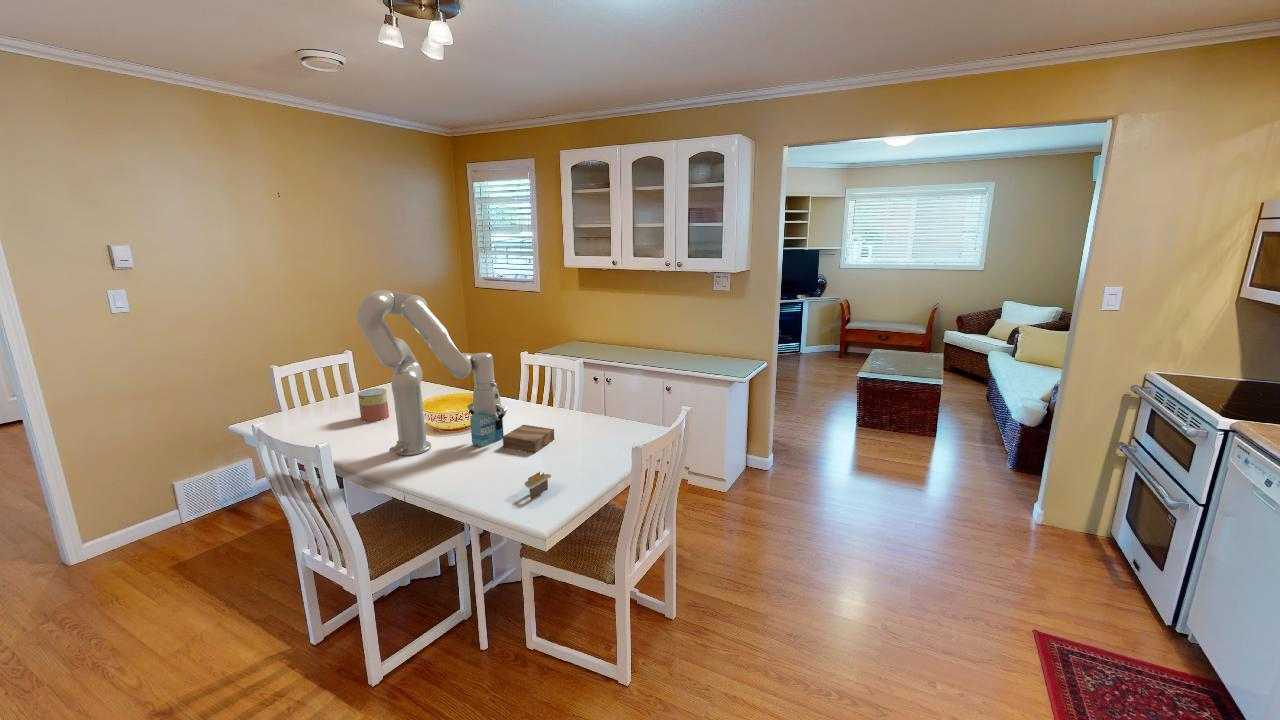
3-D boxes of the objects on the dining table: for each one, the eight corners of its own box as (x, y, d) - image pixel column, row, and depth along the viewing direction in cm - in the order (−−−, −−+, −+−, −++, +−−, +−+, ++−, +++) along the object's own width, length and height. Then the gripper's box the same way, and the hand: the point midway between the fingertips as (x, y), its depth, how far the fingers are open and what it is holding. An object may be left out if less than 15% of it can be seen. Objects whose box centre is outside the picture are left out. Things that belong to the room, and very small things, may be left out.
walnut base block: (535, 454, 204) (534, 441, 203) (503, 448, 209) (502, 436, 208) (554, 441, 217) (553, 429, 215) (523, 436, 222) (523, 424, 220)
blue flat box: (479, 448, 208) (477, 418, 206) (471, 445, 211) (469, 416, 208) (504, 438, 218) (502, 409, 215) (496, 436, 220) (494, 407, 218)
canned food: (361, 416, 244) (358, 390, 241) (389, 412, 249) (386, 387, 246) (360, 424, 234) (357, 397, 231) (389, 420, 239) (386, 393, 236)
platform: (503, 501, 168) (501, 482, 167) (541, 479, 184) (540, 460, 182) (533, 511, 163) (532, 491, 161) (570, 487, 178) (569, 468, 176)
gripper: (509, 384, 210) (513, 426, 214) (472, 380, 216) (476, 422, 220) (498, 389, 203) (502, 433, 207) (459, 386, 209) (463, 428, 213)
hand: (488, 427), depth 213 cm, fingers open, 9 cm apart
